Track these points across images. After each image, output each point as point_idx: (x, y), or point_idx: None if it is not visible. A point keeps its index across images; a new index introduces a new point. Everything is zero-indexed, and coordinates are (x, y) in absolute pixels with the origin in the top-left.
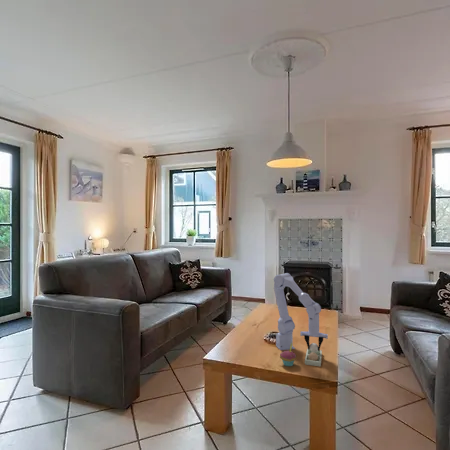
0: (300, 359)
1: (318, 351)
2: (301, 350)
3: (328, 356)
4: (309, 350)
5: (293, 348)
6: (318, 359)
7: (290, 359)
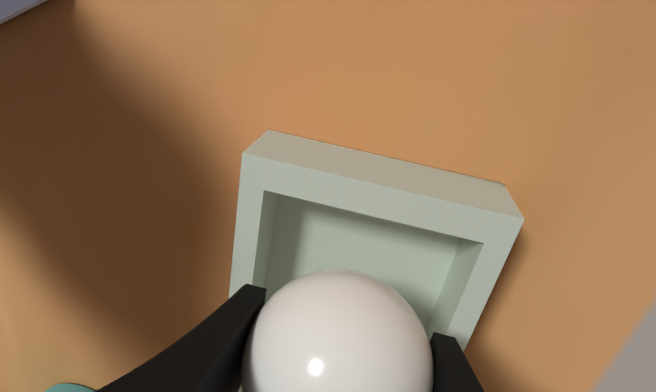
0: (183, 322)
1: (448, 228)
2: (174, 25)
3: (600, 235)
4: (287, 189)
5: (25, 2)
6: None
7: None
